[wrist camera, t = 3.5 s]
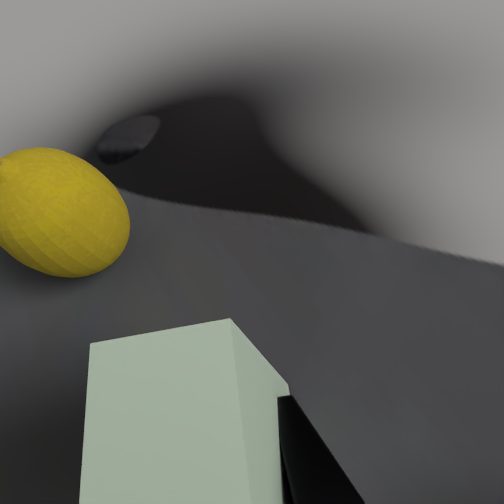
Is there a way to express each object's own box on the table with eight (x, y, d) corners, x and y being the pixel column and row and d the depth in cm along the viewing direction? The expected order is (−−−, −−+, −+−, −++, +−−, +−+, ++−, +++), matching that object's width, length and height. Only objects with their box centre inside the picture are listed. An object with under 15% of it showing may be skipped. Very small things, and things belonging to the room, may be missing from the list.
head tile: (287, 384, 15) (229, 318, 4) (310, 516, 13) (319, 1105, 2) (248, 390, 15) (90, 343, 4) (265, 522, 13) (38, 1103, 2)
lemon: (106, 316, 18) (-25, 256, 11) (47, 264, 20) (-97, 185, 13) (172, 238, 20) (94, 141, 13) (111, 197, 22) (13, 93, 15)
